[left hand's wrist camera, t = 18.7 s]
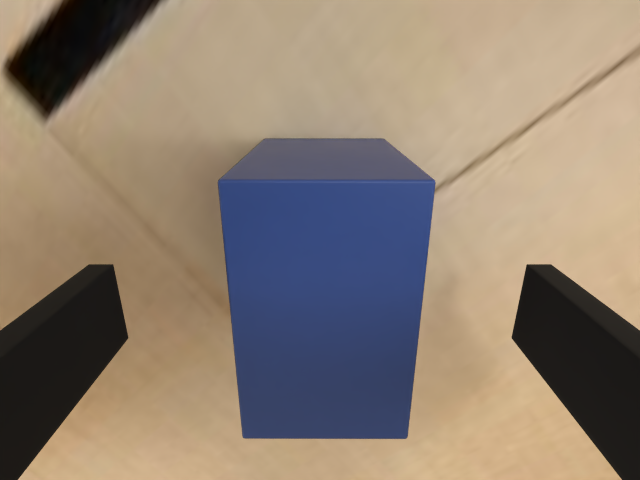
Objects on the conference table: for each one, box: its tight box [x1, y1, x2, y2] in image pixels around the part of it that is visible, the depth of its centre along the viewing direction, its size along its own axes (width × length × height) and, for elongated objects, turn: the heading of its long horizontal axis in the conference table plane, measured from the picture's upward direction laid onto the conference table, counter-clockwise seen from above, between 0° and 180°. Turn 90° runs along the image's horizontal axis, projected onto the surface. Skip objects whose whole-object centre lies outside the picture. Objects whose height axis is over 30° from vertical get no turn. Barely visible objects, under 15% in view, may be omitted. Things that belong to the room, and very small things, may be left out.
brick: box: [218, 139, 435, 439], centre depth 15 cm, size 5×8×8 cm, turn 0°
